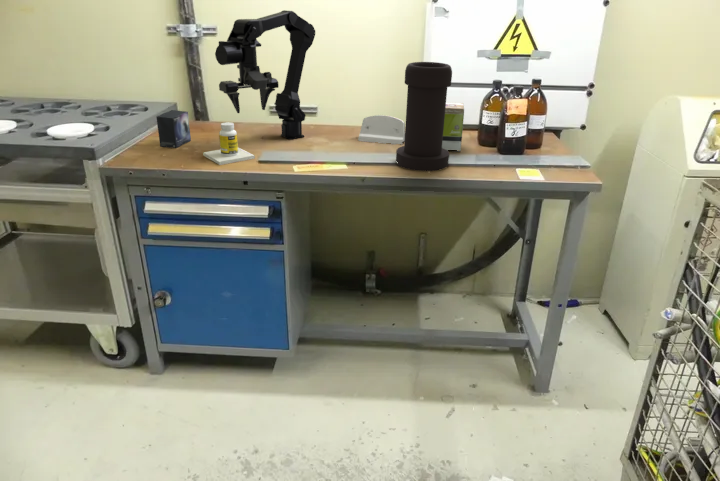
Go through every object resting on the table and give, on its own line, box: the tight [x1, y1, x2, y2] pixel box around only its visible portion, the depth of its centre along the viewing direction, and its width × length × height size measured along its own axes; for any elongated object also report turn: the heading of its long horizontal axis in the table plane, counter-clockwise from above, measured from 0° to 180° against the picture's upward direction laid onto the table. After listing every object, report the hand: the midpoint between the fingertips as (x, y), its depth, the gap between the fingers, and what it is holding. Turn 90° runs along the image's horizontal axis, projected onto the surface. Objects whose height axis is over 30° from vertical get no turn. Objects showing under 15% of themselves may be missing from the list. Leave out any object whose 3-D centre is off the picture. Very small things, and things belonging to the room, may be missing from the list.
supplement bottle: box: [219, 121, 239, 156], centre depth 168 cm, size 5×5×10 cm
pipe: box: [395, 61, 453, 172], centre depth 163 cm, size 16×16×30 cm
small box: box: [155, 109, 192, 149], centre depth 181 cm, size 11×6×10 cm, turn 169°
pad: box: [202, 146, 256, 166], centre depth 170 cm, size 12×12×1 cm
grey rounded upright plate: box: [357, 114, 406, 146], centre depth 191 cm, size 17×5×10 cm, turn 74°
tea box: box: [442, 102, 465, 152], centre depth 183 cm, size 15×10×15 cm
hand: (251, 111), depth 176 cm, fingers open, 9 cm apart
